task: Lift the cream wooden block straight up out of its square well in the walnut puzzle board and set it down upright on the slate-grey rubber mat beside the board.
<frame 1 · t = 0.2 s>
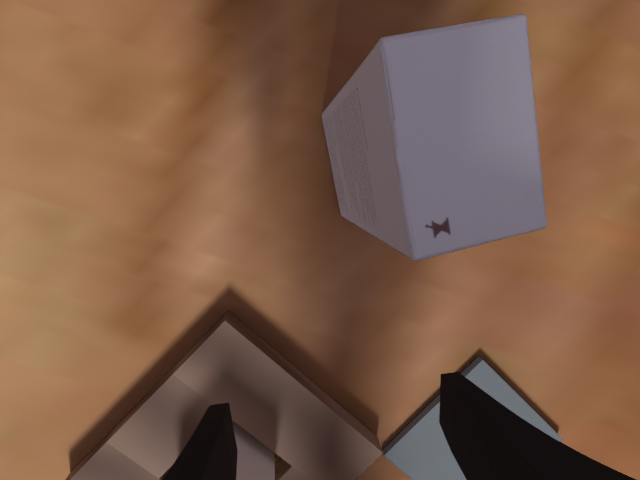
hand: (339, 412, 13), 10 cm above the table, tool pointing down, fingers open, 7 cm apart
skincare box: (364, 157, 22), on the table
puzzle board: (229, 454, 24), on the table
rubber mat: (472, 442, 26), on the table
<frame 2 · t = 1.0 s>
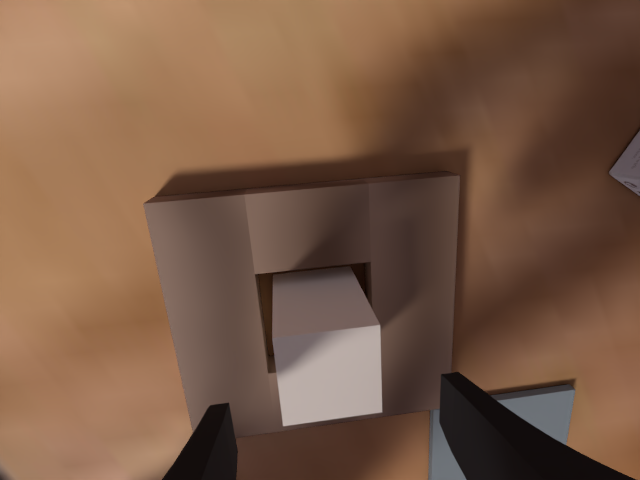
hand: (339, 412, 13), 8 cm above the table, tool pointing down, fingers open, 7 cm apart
puzzle board: (314, 305, 20), on the table
cream block: (321, 335, 17), in the puzzle board
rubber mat: (495, 450, 25), on the table
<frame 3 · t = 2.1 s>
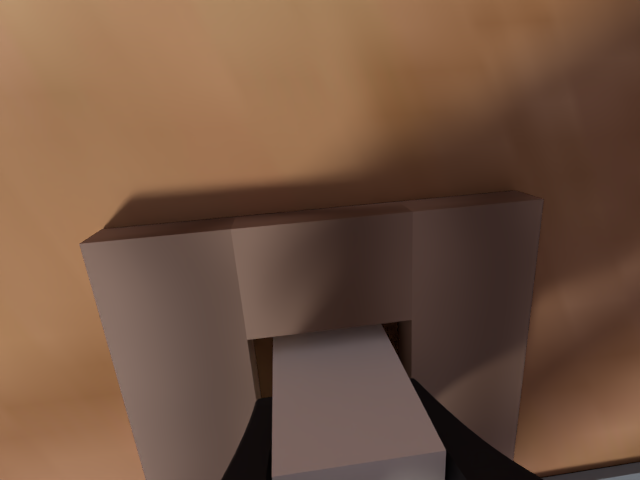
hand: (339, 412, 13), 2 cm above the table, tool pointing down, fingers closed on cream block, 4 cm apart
puzzle board: (329, 371, 15), on the table
cream block: (342, 430, 12), in the puzzle board, touching gripper
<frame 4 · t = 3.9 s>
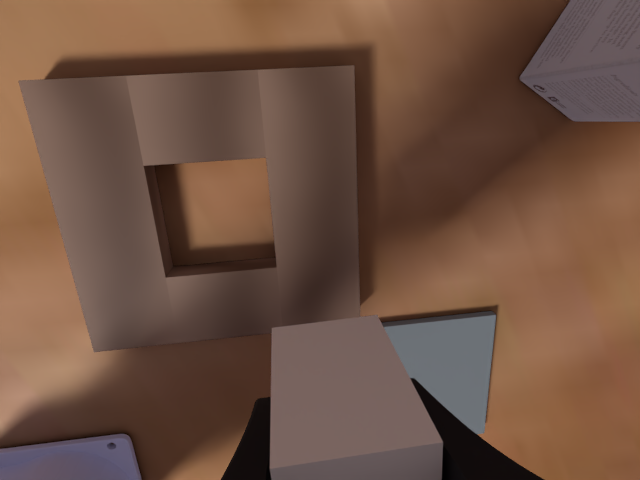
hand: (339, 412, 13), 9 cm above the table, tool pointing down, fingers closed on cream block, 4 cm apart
skincare box: (579, 48, 19), on the table
puzzle board: (218, 212, 20), on the table
cream block: (341, 424, 12), point 10 cm above the table, touching gripper
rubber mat: (418, 380, 24), on the table
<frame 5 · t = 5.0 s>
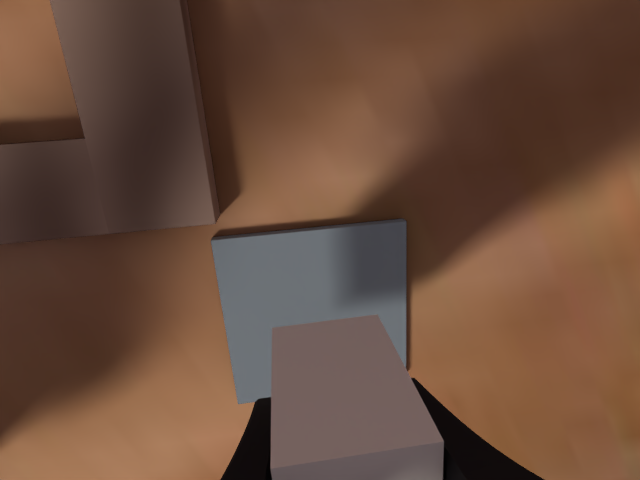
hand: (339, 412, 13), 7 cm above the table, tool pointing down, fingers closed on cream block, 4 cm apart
puzzle board: (9, 68, 15), on the table
cream block: (341, 424, 12), point 8 cm above the table, touching gripper
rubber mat: (316, 312, 19), on the table
when the fingers open (4 cm above the table, at t = 5.9 s): cream block drops 1 cm, resting on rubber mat.
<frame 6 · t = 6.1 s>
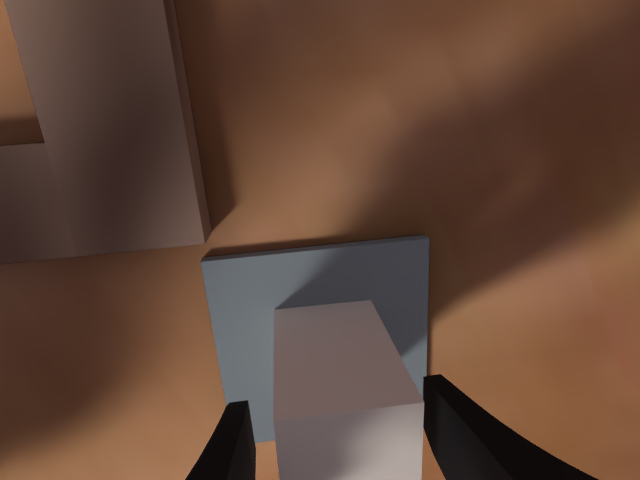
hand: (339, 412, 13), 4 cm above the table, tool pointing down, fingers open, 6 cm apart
cream block: (335, 395, 13), on the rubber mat
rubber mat: (323, 342, 17), on the table
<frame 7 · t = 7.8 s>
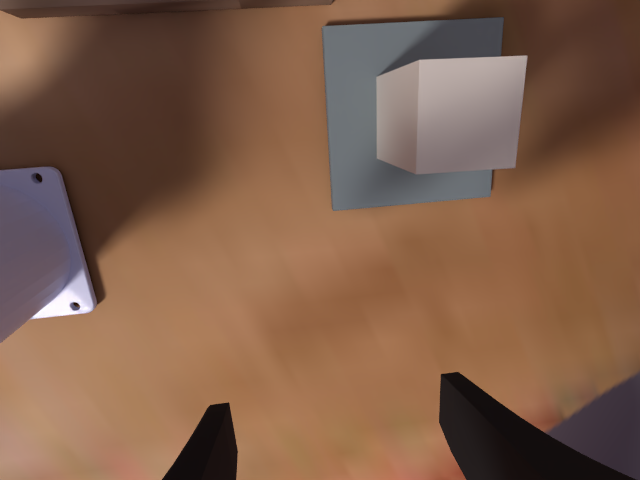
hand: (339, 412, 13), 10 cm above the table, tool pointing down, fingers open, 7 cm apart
cream block: (437, 116, 17), on the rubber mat
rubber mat: (410, 119, 20), on the table
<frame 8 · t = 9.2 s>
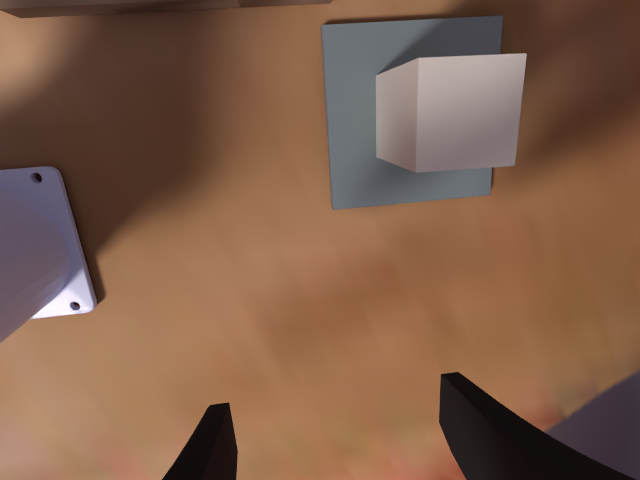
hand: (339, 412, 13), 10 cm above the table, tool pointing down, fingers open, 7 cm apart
cream block: (436, 115, 17), on the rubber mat
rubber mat: (410, 117, 20), on the table
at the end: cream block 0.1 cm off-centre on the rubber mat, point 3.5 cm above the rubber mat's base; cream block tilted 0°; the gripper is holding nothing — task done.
